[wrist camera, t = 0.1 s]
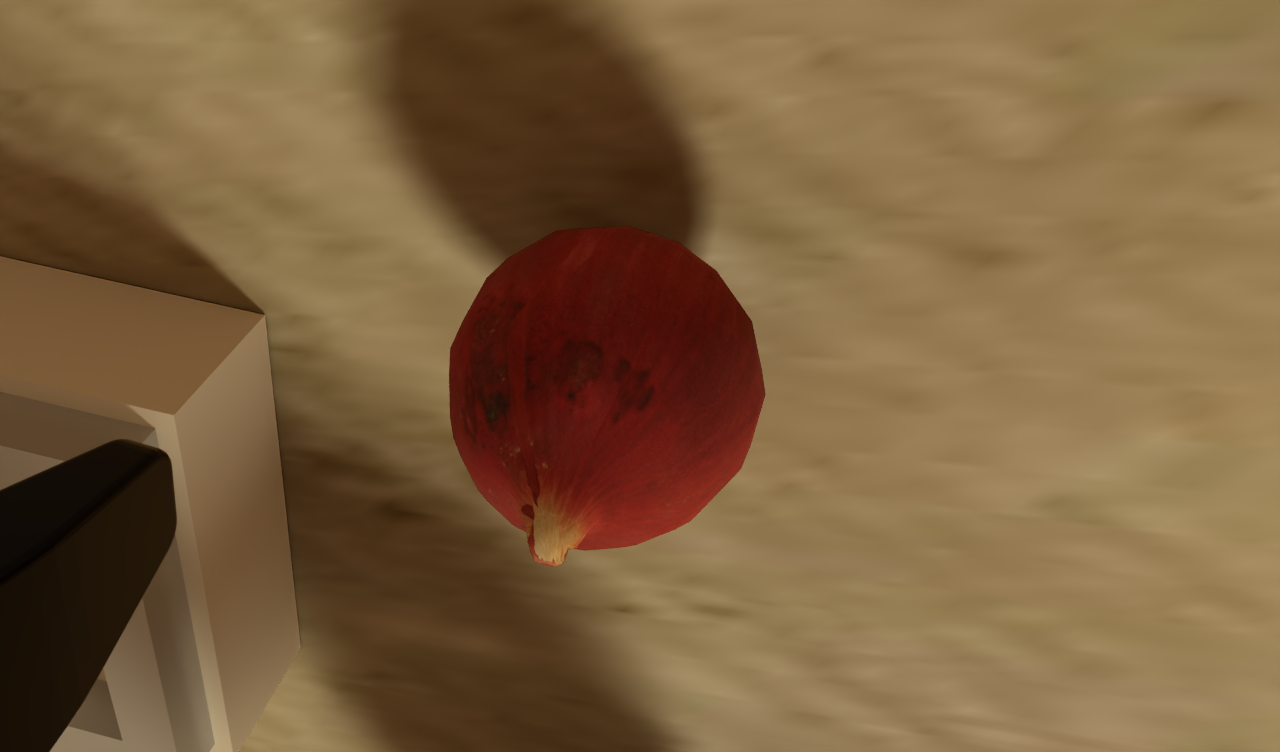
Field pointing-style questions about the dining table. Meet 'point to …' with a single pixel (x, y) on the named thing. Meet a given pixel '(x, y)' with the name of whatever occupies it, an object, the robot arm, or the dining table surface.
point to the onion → (603, 389)
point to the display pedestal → (203, 484)
